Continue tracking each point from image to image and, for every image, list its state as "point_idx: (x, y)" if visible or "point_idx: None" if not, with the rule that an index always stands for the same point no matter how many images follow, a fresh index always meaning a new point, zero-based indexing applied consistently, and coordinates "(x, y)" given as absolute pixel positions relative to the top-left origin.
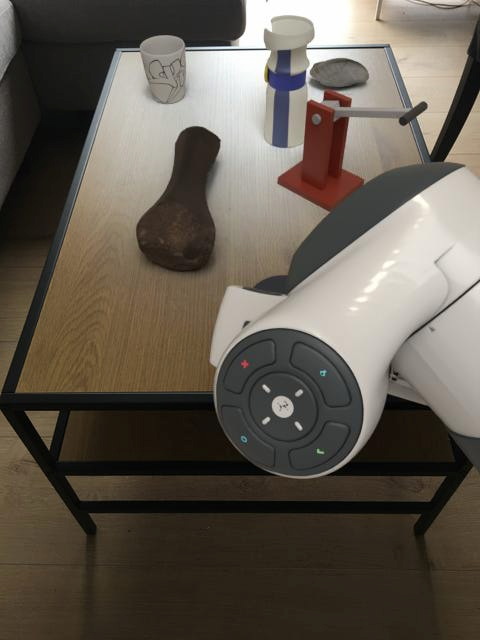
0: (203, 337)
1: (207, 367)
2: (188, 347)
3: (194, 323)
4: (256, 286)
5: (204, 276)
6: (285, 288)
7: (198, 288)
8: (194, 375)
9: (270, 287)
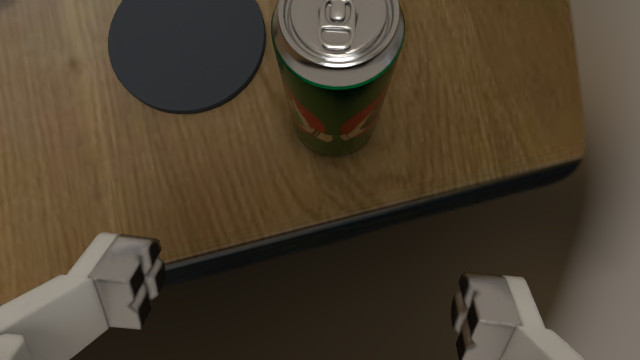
0: (37, 161)
1: (60, 231)
2: (11, 193)
3: (11, 131)
4: (120, 10)
5: (9, 8)
6: (182, 1)
7: (2, 41)
8: (37, 257)
9: (150, 6)
